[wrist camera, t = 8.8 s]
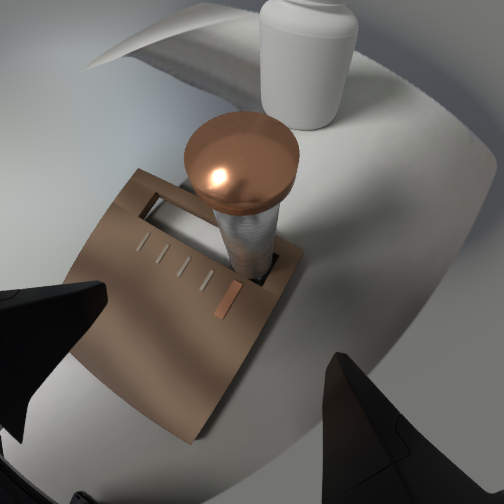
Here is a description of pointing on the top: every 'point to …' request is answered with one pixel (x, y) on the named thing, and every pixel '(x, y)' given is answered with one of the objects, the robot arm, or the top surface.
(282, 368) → the top surface
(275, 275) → the brown wooden flat board
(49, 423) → the top surface
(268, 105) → the pill bottle
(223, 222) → the capped cylinder
